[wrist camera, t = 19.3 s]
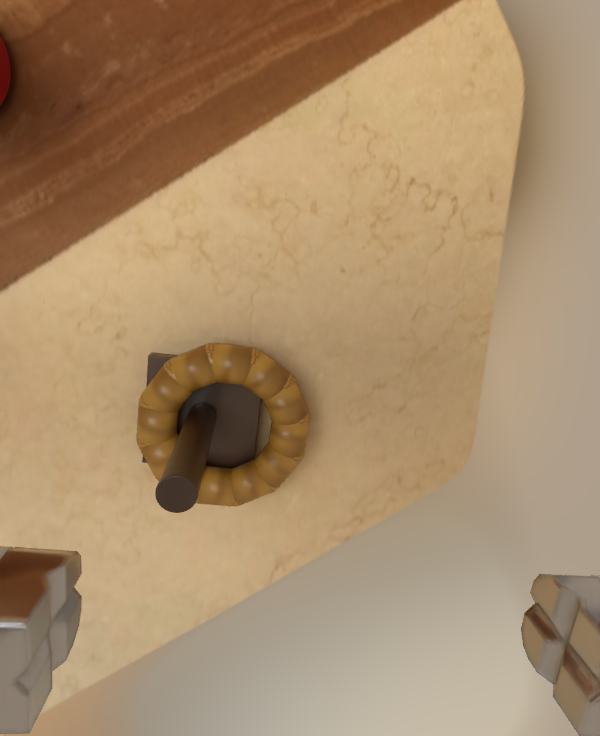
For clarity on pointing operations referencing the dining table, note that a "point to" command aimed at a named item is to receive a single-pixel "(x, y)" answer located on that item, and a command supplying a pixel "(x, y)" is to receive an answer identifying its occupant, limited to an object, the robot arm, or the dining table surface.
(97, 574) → the dining table surface
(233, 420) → the post
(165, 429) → the ring
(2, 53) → the beverage can
